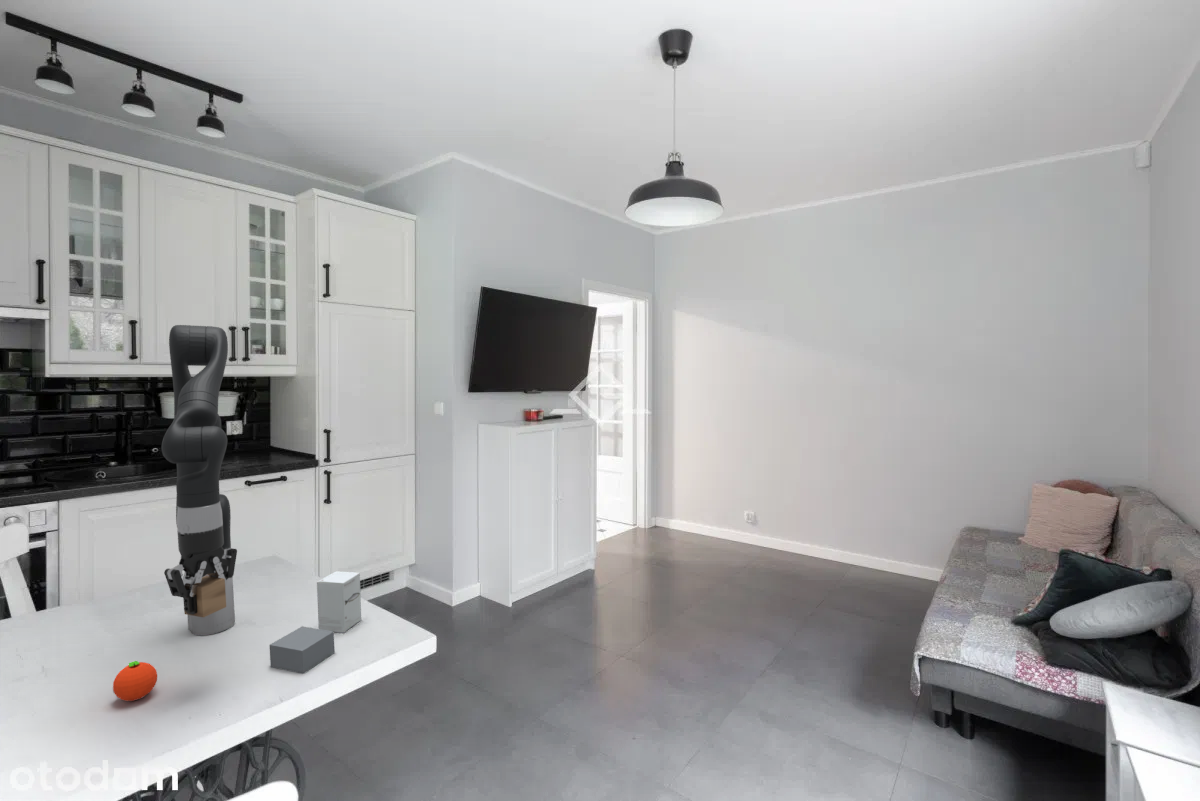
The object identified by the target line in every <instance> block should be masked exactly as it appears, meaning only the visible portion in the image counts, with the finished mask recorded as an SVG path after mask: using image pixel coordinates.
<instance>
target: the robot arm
mask: <svg viewBox="0 0 1200 801" xmlns="http://www.w3.org/2000/svg"><path fill="white" fill-rule="evenodd" d="M228 342H229V341H228V336H227V332H226V331H225V330H224V329H223V328H222V327H219V326H218V327H217V326H211V325H207V326H206V325H189V324H187V325H186V324H175V325H173V326H172V327H171V329H170V331H169V337H168V344H169V346H168V347H169V357H170V367H171V368H170V369H171V376H172V377H171V378H172V384H173V385H172V386H173V402H174V404H173V411H174V412H173V414H174V415H173V421H172V423H171V424H170V425H169V427H168V428H167V429H166V432H165V434H164V435H163V438H162V442H161V453H162V456H163V457H164V459H165V460H167V461H168V462H169V463H171V464H176V484H175V485H176V486H175V488H176V501H175V502H176V506H175V520H176V521H175V522H176V528H177V529H176V530H177V541H178V542H177V545H178V546H177V547H178V552H179V553H180V559H179V562H178V564H177V565H176V566H174V567H172V568H166V569H165V570H164V576H165V580H166V581H167V585H168V588H169V591H170V594H171V596H173V597H179V598H182V600H183V611H185V612H187V613H188V614H192V615H194V614H196V613H197V612H198V611H197V596H196V595H195V594H196V591H197V588H196V587H198V585H199V584H200V583H201V579H202V577H205V576H210V577H217V578H223V579H225V592H226V607H225V608H223V609H221V610H219V611H216V612H214V613H212V614H210V615H208V616H206V617H197V616H192V615H187V614H186V615H187V627H188V629H187V630H189V631H190V632H191V634H192V635H195V636H209V635H213V634H218V633H220V632H223V631H225V630H228V629H230V628H231V627H233V626H234V625H235V624H236V615H235V611H236V610H235V598H234V597H235V596H234V595H235V592H234V579H233V578H234V577H233V576H234V575H235V569H236V568H235V567H236V560H237V554H238V550H237V548H232V541H231V540H232V539H231V518H232V517H231V504H230V501H229V498H228V497H227V496H226V495H225V494H220V475H221V468H222V463H223V461H224V458H225V454H226V451H227V446H228V436H227V434H226V432H225V431H224V430H223V428H222V419H221V417H220V415H219V396H220V389H221V385H222V381H223V378H224V375H225V374H224V373H225V369H226V366H227V365H226V364H227V361H228V351H229V344H228ZM189 366H195V367H196V366H200V367H203V368H202V369H201V370H200V371H199V372H198V373H196V374H195V375H194V376H193V377H192V375H191V372H190V370H189V369H190V368H189ZM183 572H184V573H183ZM190 585H191V586H190ZM189 586H190V589H189Z"/></svg>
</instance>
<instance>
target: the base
mask: <svg viewBox="0 0 1200 801" xmlns="http://www.w3.org/2000/svg"><path fill="white" fill-rule="evenodd" d="M334 652H335V632H333V631H327V630H321V629H319V628H315V627H309V626H303V625H301V626H300V627H298V628H297V629H295V630H293V631H291V632H290V633H287V634H286V635H283V637H281V638H279V639H277V640H275V641H274V642H272V643H270V644H269V660H270V661H269V664H270V667H271V668H275V669H279V670H285V671H290V672H295V673H299V674H305V673H307V672H308V671H309V670H311V669H313V668H314V667H316V666H317V665H318V663H319V664H320V663H322V662H323V661H325V660H326V659H328V658H329V657H330V656H332V655H333V654H335V653H336V652H335V653H334ZM325 658H326V659H325ZM324 659H325V660H324ZM321 661H322V662H321Z"/></svg>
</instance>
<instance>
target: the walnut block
mask: <svg viewBox="0 0 1200 801" xmlns="http://www.w3.org/2000/svg"><path fill="white" fill-rule="evenodd" d="M190 586H191V585H190ZM190 586H189V589H190ZM196 588H197V591H196V594H195V595H196V596H197V611H198V612H197V613H196V614H194V615H192V614H188V613H187V612H185V611H184V610H183V611H184V613H183V614H184V615H192V616H197V617H206V616H208V615H210V614H212V613H214V612H216V611H219V610H221V609H223V608H225V607H226V592H225V579H223V578H217V577H210V576H205V577H202V579H201V583H200V584H199V585H198V587H196Z"/></svg>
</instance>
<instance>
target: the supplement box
mask: <svg viewBox="0 0 1200 801" xmlns="http://www.w3.org/2000/svg"><path fill="white" fill-rule="evenodd" d="M360 573H361V572H355V571H354V572H353V571H352V572H351V571H339V570H338V571H337V570H336V571H333V572H332V573H330V574H328V575H326V576H324V577H323V578H321V579H319V580H317V581H316V593H317V595H316V596H317V617H318V618H317V620H318V621H317V622H318V629H321V630H327V631H333V632H334V633H340V634H344V633H346V632H347V631H348V630H349V629H350V628H352V627H353V626H355V625H356V624H357V623H359V622H360V621H362V599H361V598H362V596H361V595H362V594H361V574H360Z"/></svg>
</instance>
